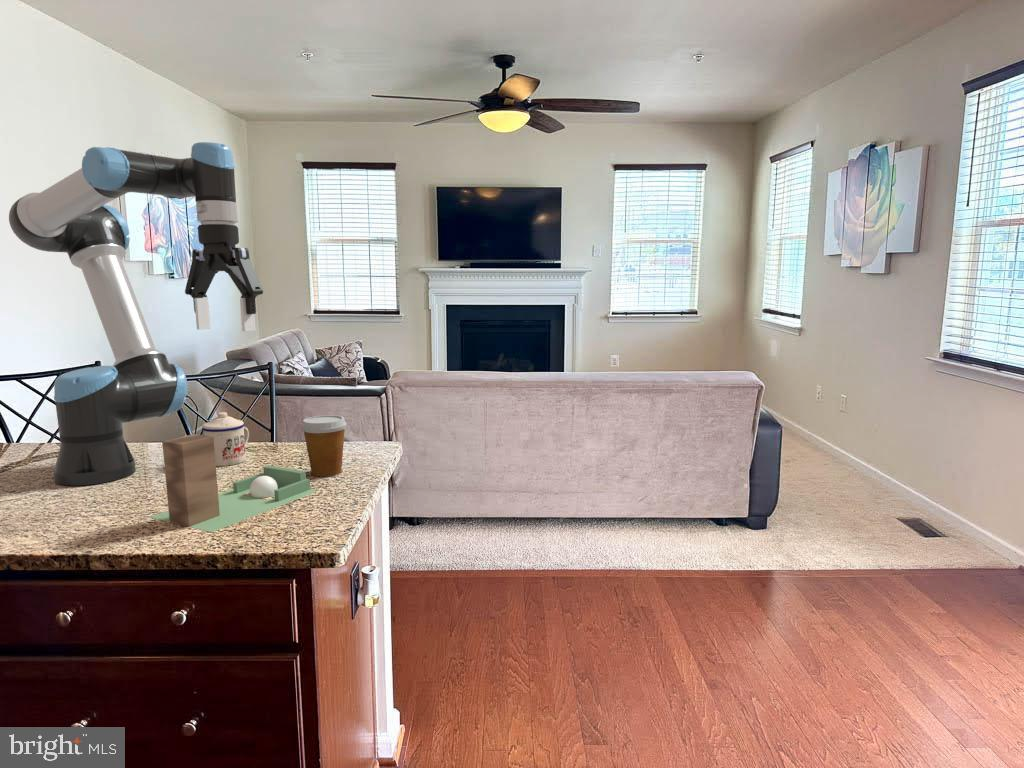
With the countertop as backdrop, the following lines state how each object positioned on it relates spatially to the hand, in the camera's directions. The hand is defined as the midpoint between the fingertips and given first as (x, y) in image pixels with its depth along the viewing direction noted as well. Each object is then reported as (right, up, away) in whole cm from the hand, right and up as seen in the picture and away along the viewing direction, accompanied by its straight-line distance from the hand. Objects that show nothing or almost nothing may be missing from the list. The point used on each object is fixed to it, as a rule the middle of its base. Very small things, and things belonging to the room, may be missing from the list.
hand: (225, 330), depth 139 cm
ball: (+12, -31, -10) cm, 35 cm away
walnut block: (+5, -34, -23) cm, 42 cm away
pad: (+9, -34, -15) cm, 39 cm away
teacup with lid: (-7, -29, +20) cm, 36 cm away
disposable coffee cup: (+18, -31, +9) cm, 37 cm away
